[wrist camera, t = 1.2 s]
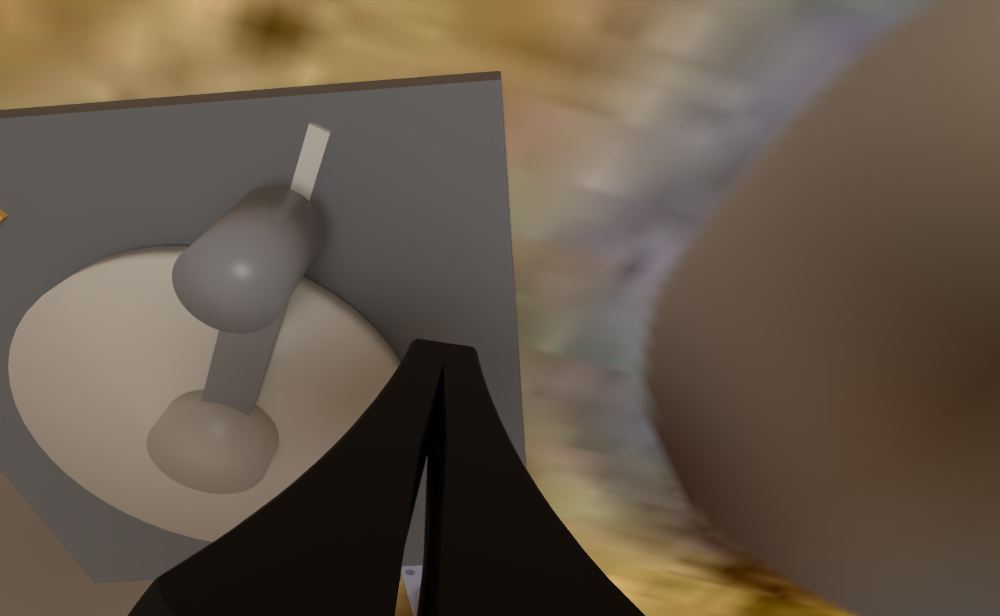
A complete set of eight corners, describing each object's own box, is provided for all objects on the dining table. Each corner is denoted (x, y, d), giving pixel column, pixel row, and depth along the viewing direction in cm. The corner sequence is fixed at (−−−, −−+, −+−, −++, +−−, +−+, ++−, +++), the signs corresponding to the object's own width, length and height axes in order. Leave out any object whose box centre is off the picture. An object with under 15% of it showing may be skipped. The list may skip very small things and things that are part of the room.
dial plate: (530, 532, 27) (532, 563, 26) (113, 555, 28) (92, 586, 26) (500, 70, 16) (501, 80, 14) (-217, 127, 16) (-286, 142, 15)
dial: (354, 556, 25) (329, 665, 21) (27, 471, 22) (-77, 582, 18) (518, 268, 17) (526, 357, 13) (37, 62, 14) (-150, 97, 10)
